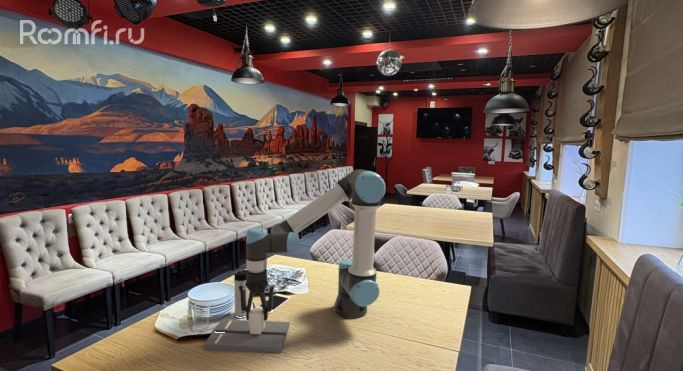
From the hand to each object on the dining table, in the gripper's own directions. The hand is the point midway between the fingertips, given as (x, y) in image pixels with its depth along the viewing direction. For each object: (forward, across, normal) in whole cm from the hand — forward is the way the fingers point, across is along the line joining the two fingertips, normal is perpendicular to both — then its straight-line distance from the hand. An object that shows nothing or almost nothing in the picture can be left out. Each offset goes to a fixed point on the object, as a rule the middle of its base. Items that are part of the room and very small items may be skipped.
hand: (257, 327), depth 133 cm
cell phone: (+5, 0, -29) cm, 29 cm away
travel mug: (+4, +11, -17) cm, 21 cm away
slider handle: (+4, 0, 0) cm, 4 cm away
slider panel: (+4, +3, 0) cm, 5 cm away
